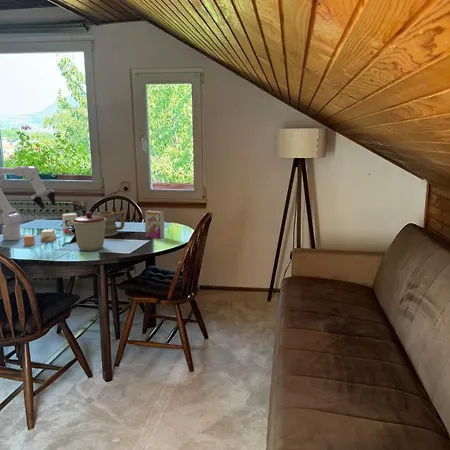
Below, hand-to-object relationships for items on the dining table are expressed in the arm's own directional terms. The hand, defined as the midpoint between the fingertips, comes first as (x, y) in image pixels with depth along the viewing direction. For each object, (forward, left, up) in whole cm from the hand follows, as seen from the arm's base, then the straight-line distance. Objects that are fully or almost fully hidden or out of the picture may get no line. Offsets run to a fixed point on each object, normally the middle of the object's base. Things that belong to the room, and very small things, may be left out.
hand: (49, 206), depth 248 cm
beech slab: (-3, +5, -21) cm, 22 cm away
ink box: (+6, +26, -21) cm, 34 cm away
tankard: (+34, +16, -21) cm, 43 cm away
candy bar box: (+61, +1, -21) cm, 64 cm away
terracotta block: (-11, -5, -21) cm, 24 cm away
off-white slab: (-3, +5, -18) cm, 19 cm away
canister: (+26, -21, -21) cm, 39 cm away
